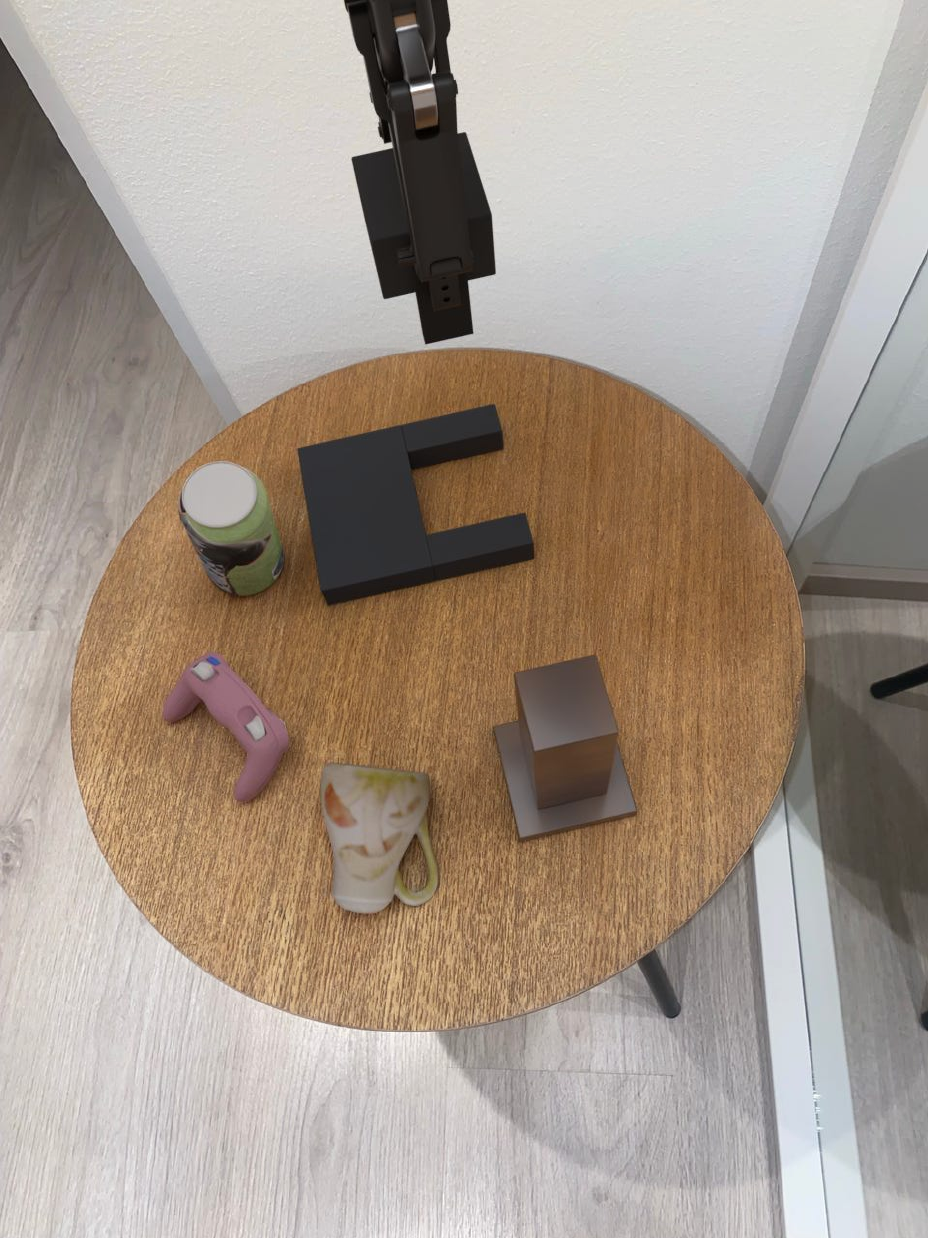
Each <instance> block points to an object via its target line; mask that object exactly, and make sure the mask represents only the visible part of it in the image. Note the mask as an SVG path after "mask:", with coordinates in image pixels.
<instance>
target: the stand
mask: <svg viewBox="0 0 928 1238" xmlns="http://www.w3.org/2000/svg"><path fill="white" fill-rule="evenodd" d="M513 681H514V690H515V692H514V693H515V700H516V711H517V719H518V720H514V721H510V722H506V723H500V724H496V725H493V726H492V729H493V730H492V731H493V734H494V739H495V743H496V747H497V750H498V751H497V752H498V756H499V760H500V764H501V769H502V772H503V773H502V774H503V777H504V781H505V785H506V789H507V794H508V798H509V803H510V808H511V810H512V815H513V820H514V824H515V828H516V833H517V837H518V840H519V842H526V841H530V840H534V839H538V838H542V837H547V836H551V835H555V834H560V833H565V832H568V831H569V832H570V831H573V830H577V829H583V828H587V827H590V826H595V825H599V824H603V823H608V822H612V821H615V820H622V819H625V818H629V817H633V816H636V815H637V814H638V808H637V804H636V801H635V798H634V793H633V791H632V788H631V783H630V780H629V777H628V773H627V770H626V767H625V764H624V760H623V757H622V753H621V750H620V746H619V742H618V740H619V733H620V729H619V727H618V724H617V720H616V717H615V713H614V710H613V706H612V703H611V700H610V696H609V693H608V690H607V687H606V683H605V679H604V676H603V672H602V669H601V666H600V663H599V659H598V656H597V654H590V655H585V656H581V657H577V658H572V659H568V660H564V661H559V662H555V663H550V664H546V665H542V666H538V667H533V668H530V669H525V670H520V671H516V672H514V673H513Z"/></svg>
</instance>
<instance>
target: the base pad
mask: <svg viewBox="0 0 928 1238" xmlns="http://www.w3.org/2000/svg"><path fill="white" fill-rule="evenodd" d="M496 406H497V405H496V404H495V403H492V404H487V405H483V406H479V407H478V406H477V407H473V408H470V409H466V410H460V411H456V412H453V413H452V412H451V413H448V414H443V415H439V416H434V417H430V418H425V419H421V420H417V421H412V422H407V423H403V424H399V425H394V426H390V427H385V428H380V429H376V430H372V431H368V432H364V433H359V434H355V435H350V436H345V437H340V438H337V439H332V440H327V441H322V442H319V443H313V444H309V445H306V446H301V447H298V448H296V450H297V456H298V457H297V458H298V462H299V466H300V467H299V469H300V475H301V480H302V481H301V482H302V486H303V492H304V493H303V494H304V498H305V505H306V511H307V517H308V523H309V528H310V534H311V541H312V548H313V553H314V559H315V564H316V571H317V577H318V583H319V589H320V593H321V595H322V597H323V599H324V601H325V603H326V604H327V606H332V605H336V604H342V603H345V602H349V601H354V600H358V599H362V598H368V597H372V596H375V595H381V594H384V593H389V592H393V591H398V590H403V589H407V588H411V587H415V586H416V587H417V586H420V585H425V584H428V583H433V582H436V581H437V582H439V581H442V580H446V579H451V578H456V577H459V576H464V575H469V574H473V573H477V572H482V571H486V570H490V569H495V568H500V567H503V566H508V565H512V564H517V563H521V562H526V561H530V560H531V561H532V560H534V559H535V542H534V539H533V534H532V532H531V528H530V524H529V520H528V518H527V513H526V512H520V513H517V514H512V515H507V516H503V517H498V518H493V519H489V520H485V521H481V522H476V523H471V524H467V525H463V526H459V527H454V528H449V529H445V530H441V531H437V532H432V533H428V534H427V533H426V529H425V524H424V519H423V515H422V511H421V507H420V502H419V497H418V492H417V488H416V484H415V480H414V475H413V471H412V470H416V469H420V468H424V467H428V466H433V465H437V464H442V463H447V462H452V461H456V460H459V459H464V458H465V459H466V458H469V457H474V456H477V455H482V454H486V453H492V452H494V451H500V450H503V449H505V446H504V435H503V428H502V424H501V421H500V417H499V414H498V410H497V407H496Z"/></svg>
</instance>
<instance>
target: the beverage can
mask: <svg viewBox="0 0 928 1238" xmlns="http://www.w3.org/2000/svg"><path fill="white" fill-rule="evenodd" d="M177 513H178V517H179V520H180V522H181V524H182V526H183V528H184V531H185V532H186V534H187V537H188V538H189V540H190V543H191V545H192V547H193V549H194V551H195V553H196V555H197V556H198V559H199V561H200V563H201V565H202V567H203V569H204V571H205V573H206V576H207V578H208V579H209V580H210V582H211V584H213V585H214V586H215V587H216V588H217V589H219V590H220V591H222V592H224V593H226V594H229V595H234V596H252V595H254V594H258V593H260V592H263V591H264V590H266V589H268V588H269V587H270V586H272V585H273V584H274V583H275V582H276V581H277V579H278V578H279V577H280V574H281V573H282V570H283V567H284V563H285V551H284V548H283V545H282V541H281V537H280V533H279V530H278V527H277V523H276V520H275V517H274V513H273V509H272V506H271V503H270V498H269V495H268V492H267V489H266V486H265V485H264V483H263V481H261V479H260V478H259V476H257V475H256V474H255V473H254V472H252V471H251V470H249V469H248V468H246V467H244V466H241V465H239V464H237V463H234V462H230V461H224V460H221V461H212V462H207V463H206V464H203V465H201V466H199V467H197V468H196V469H195V470H194V471H193V472H191V474H189V476H188V477H187V478H186V480H185V482H184V484H183V486H182V488H181V489H180V492H179V495H178V500H177Z"/></svg>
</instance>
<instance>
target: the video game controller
mask: <svg viewBox="0 0 928 1238" xmlns="http://www.w3.org/2000/svg"><path fill="white" fill-rule="evenodd" d="M201 702H204V705H205V706H206V709H207V710H208V712H209V714H210V716H211V717H213V719H215V720H216V722H217V723H218V724H219V725H222V726H223V727H225V728H227V729H228V730H229V731H230V732H231V733H232V734H233V736H234V737H235V738H236V740H237V741H238V744H239V745H240V747H241V748H242V749H243V751H244V752H245V753H246V754H247V755H246V756H247V757H246V760H245V763H244V766H243V768H242V771H241V773H240V775H239V777H238V779H237V781H236V783H235V784H234V789H233V791H234V792H233V798H234V800H235V801H236V802H237V803H241V804H242V803H247V802H249V801H251V800H253V799H254V798H255V797H257V796H258V795H259V793H261V792H262V790H264V788H265V787H266V786H267V784H268V783H269V782H270V780H271V779H272V777H273V776H274V774H275V772H276V770H277V768H278V766H279V764H280V762H281V759H282V757H283V754H284V753H286V752H287V751H288V750H290V749H289V748H290V744H291V743H290V736H289V734H288V729H287V725H286V722H285V721H284V720H283V719H281V718H280V717H279V716H278V715H277V714H276V713H274V712H273V711H272V710H271V709H269V708H267V707H266V706H265V705H264V703H263V702H262V700H261V699H260V698H259V696H257V694H256V693H255V692H254V691H253V690H252V689H251V688H250V686H249V685H248V684H247V683H246V682H245V681H244V679H242V678H241V677H240V676H239V675H238V674H237V673H236V672H235V671H234V670H233V669H232V668H231V667H230V665H229V664H228V662H227V661H226V660H225V658H224V657H223V656H222V655H221V654H219V653H217V651H212V650H211V651H209V652H207V653H204V654H203V655H201V656H199V657H197V658H195V659H194V660H193V661H192V662H191V663H190V664H188V665H187V666H186V667H185V668H184V670H183V671H182V672H181V674H180V676H179V678H178V680H177V681H176V684H175V685H174V687H173V688H172V690H171V691H170V693H169V695H168V696H167V698H166V699H165V702H164V704H163V708H162V711H161V712H162V713H161V715H162V718H163V720H164V721H165V722H167V723H175V722H178V721H179V720H181V719H183V718H185V717H187V716H188V715H189V714H190V713H191V712H192V711H193V710H194V709H195V708H196V707H197V706H198V705H199V704H200V703H201Z"/></svg>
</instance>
